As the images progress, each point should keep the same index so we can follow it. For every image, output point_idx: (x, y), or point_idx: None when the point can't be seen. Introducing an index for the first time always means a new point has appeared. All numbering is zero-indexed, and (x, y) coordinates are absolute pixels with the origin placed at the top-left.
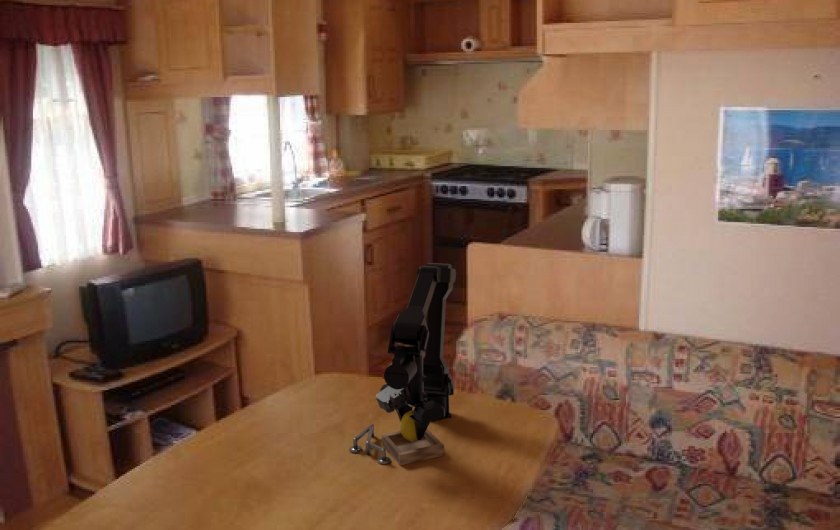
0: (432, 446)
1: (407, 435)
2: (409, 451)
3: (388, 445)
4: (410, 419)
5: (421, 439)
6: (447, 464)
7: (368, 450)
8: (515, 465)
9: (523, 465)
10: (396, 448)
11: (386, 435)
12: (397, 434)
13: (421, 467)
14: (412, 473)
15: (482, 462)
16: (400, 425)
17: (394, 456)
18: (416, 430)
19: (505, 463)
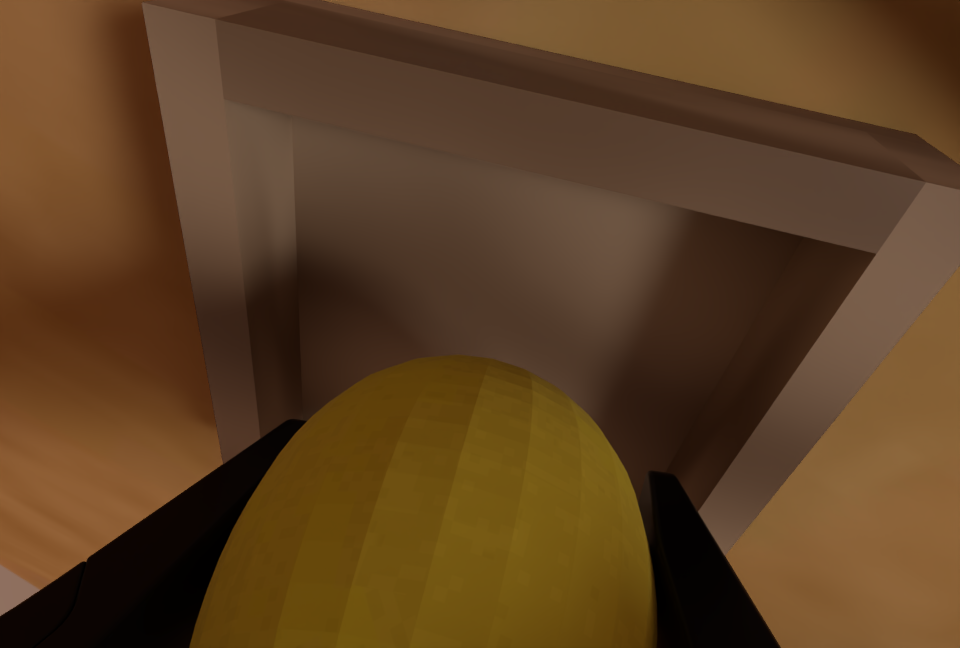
0: (236, 437)
1: (353, 394)
2: (209, 200)
3: (660, 104)
4: None
5: None
6: (135, 360)
7: None
8: (44, 552)
9: (38, 566)
10: (385, 103)
11: (907, 254)
12: (778, 386)
13: (138, 172)
14: (25, 3)
15: (109, 496)
16: (531, 517)
17: (424, 33)
18: (163, 536)
19: (72, 543)
